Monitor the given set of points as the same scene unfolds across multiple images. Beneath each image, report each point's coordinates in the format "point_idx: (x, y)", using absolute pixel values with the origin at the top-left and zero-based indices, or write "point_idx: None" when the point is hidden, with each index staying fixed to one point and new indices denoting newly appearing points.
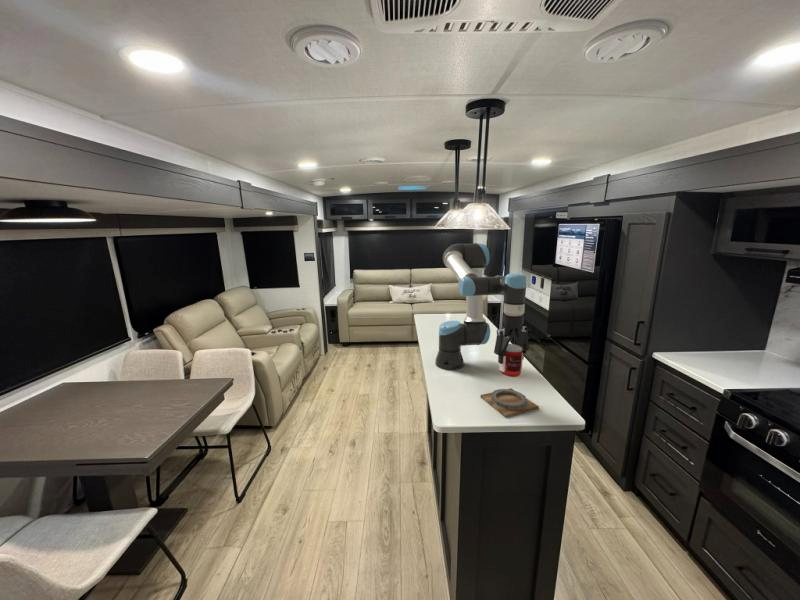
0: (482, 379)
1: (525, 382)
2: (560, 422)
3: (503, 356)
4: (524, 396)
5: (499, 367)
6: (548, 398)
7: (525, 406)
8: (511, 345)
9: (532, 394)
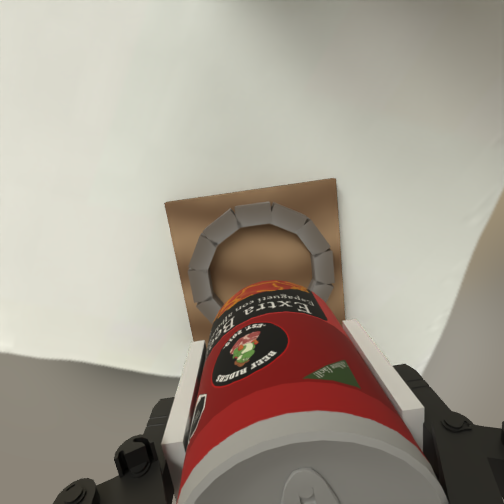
0: (259, 18)
1: (453, 117)
2: None
3: (175, 490)
4: (329, 287)
5: (189, 356)
6: (434, 272)
7: None
8: (370, 469)
9: (398, 230)
